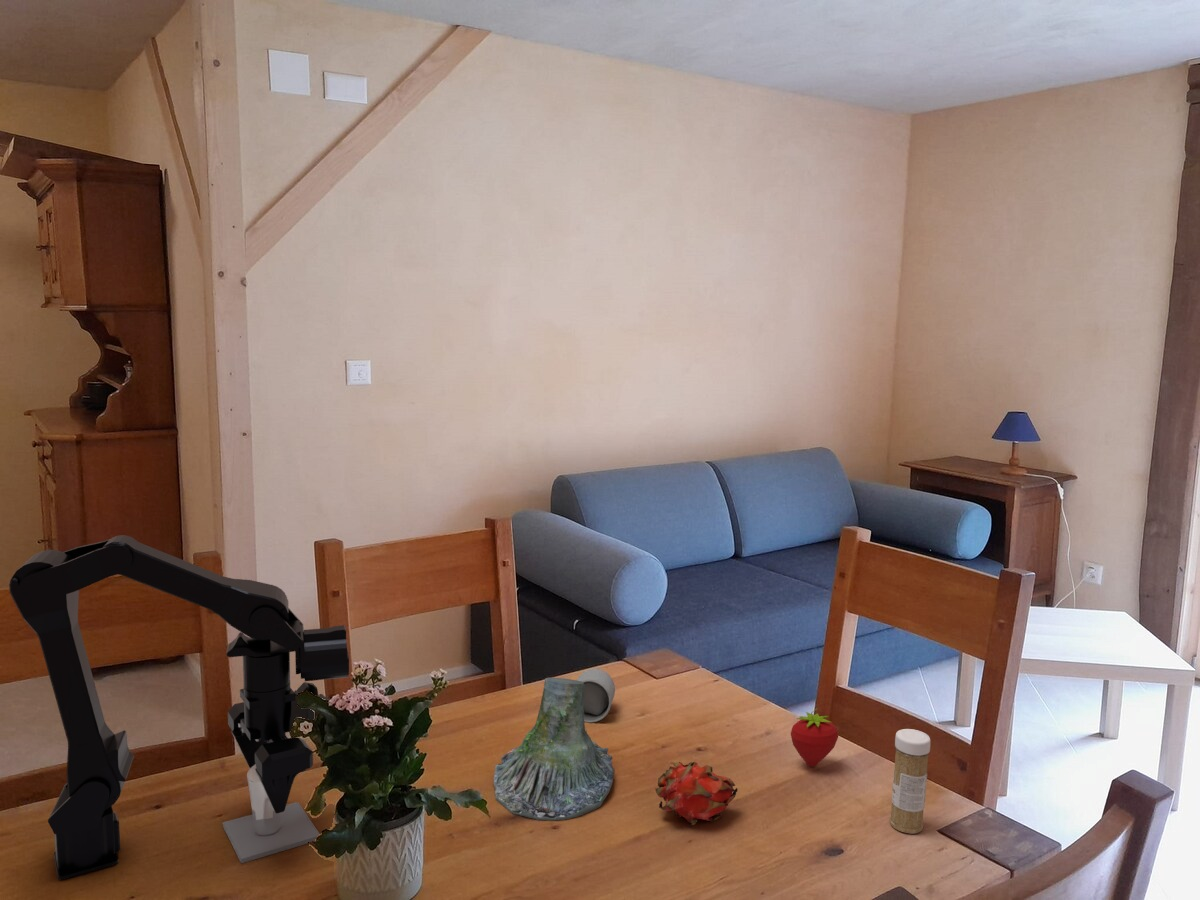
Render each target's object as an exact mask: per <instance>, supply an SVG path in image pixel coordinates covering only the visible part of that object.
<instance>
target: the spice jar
mask: <svg viewBox="0 0 1200 900" xmlns="http://www.w3.org/2000/svg"><path fill="white" fill-rule="evenodd" d="M894 738H895V739H894V747H895V756H894V757H895V758H894V768H893V769H894V770H893V776H892V777H893V779H892V789H891V791H892V792H891V811H890V817H889V824H890V825H891V827H892V828H893V829H895V830H896V831H899V832H902V833H906V834H919V833H921V832H922V830H924V823H923V821H924V811H925V810H924V809H925V807H926V804H925V803H926V795H927V794H926V791H927V782H928V781H927V780H928V760H929V755H930V751H931V738H930V736H929V734H927V733H925V732H923V731H921V730H917V729H913V728H912V729H911V728H904V729H899V730H897V731H896V733H895V737H894Z"/></svg>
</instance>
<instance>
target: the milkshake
mask: <svg viewBox="0 0 1200 900" xmlns="http://www.w3.org/2000/svg"><path fill="white" fill-rule="evenodd" d="M255 769H257V768H256V764H255V765H254V766H252V767H251V768H249V770H248V771H247V774H246V779H247V784H248V789H249V797H250V804H251V806H250V807H251V815H252V814H253V822H254V830H255V832H256V833H257V834H258V835H263V836H266V835H271V834H274V833H275V832H277V831H279V829H280V827H281V813H282V812H281V813H275V811H274V809H273V807H272V805H271V803H270V800H269V798H268V796H267V794H266V792H265V790H264V787H263V785H262V783H261V781H260V779H259V777H258V775H257V772H256V770H255Z"/></svg>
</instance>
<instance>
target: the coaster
mask: <svg viewBox="0 0 1200 900" xmlns="http://www.w3.org/2000/svg"><path fill="white" fill-rule="evenodd" d="M222 827H223V829H224V832H225V834H226V836H227V838H228V840H229V841H230V844H231V846H232V847H233V849H234V852H235V854H236V856H237V858H238V860H239V861H240V863H241V864H245V863H247V862H251V861H254V860H259V859H261V858H264V857H267V856H272V855H274V854H278V853H281V852H284V851H287V850H291V849H293V848H297V847H300V846H304V845H307V844H309V843H308V842H311V843H313V842H312V841H314V842H316V841H315V839H316V838H317V836H318V835H319V834H320V832H319V831H318V829H317V828H316V827H315V825H314V822H312V820H311V819H310V818H309V816H308V814H307V813H306V811H305V810H304V808H303V807H302V805H301V804H300V803H299V801H296V802H293V803H289V804H286V807H285V810H284V811H283V812H282V813H281V827H280V829H279V831H277V832H275V833H274V834H271V835H266V836H263V835H258V834H257V833H256V832H255V830H254V822H253V814H252V813H251V814H248V815H245V816H241V817H238V818H233V819H230V820H227V821H223V822H222Z"/></svg>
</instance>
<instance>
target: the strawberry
mask: <svg viewBox="0 0 1200 900" xmlns="http://www.w3.org/2000/svg"><path fill="white" fill-rule="evenodd" d="M817 710H818V708H815V709H814V710H813V711H812V712H807V711H806V712H805V713H806V715H807V716H801V715H800V716H799V717H797V718H796V720H797V721H796V723H794V724H793V725H792V727H791V731H790V736H791V737H790V738H791V741H792V746H793V747H794V748H795V750H796V751H797V753H798V755H799V756H800V757H801V759H802V760H803V761H804V762H805V763H806V765H807V766H808V767H811V768H813V767H816V766H818V764H819V763H820V762H822V761H823V760H824V759H825V758H826V757H827V756H828V755H829V754H830V753H831V751H833V749H834V748H835V746H836V744H837V741H838V738H839V733H838V728H837V727H836V725H834V723H833V722H832V721H830V720H827V718H829V717H830V716H829V715H821V716H820V715H819V713H816V714H813V713H814V712H815V711H817Z"/></svg>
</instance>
